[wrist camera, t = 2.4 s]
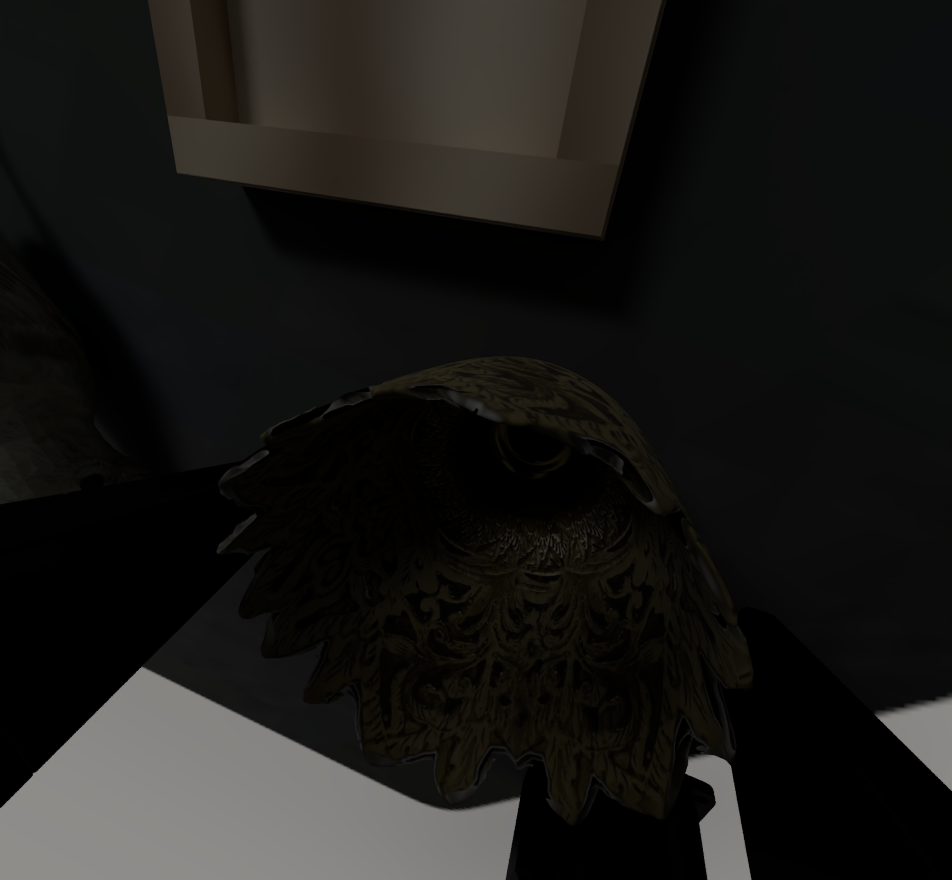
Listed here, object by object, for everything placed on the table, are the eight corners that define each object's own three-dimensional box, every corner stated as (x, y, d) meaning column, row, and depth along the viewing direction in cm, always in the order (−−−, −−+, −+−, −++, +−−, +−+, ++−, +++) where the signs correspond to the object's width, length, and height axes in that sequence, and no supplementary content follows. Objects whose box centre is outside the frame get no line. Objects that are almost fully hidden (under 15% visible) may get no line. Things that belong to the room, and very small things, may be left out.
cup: (645, 272, 10) (722, 301, 3) (684, 524, 12) (780, 890, 5) (395, 349, 13) (126, 455, 6) (465, 539, 15) (333, 781, 8)
